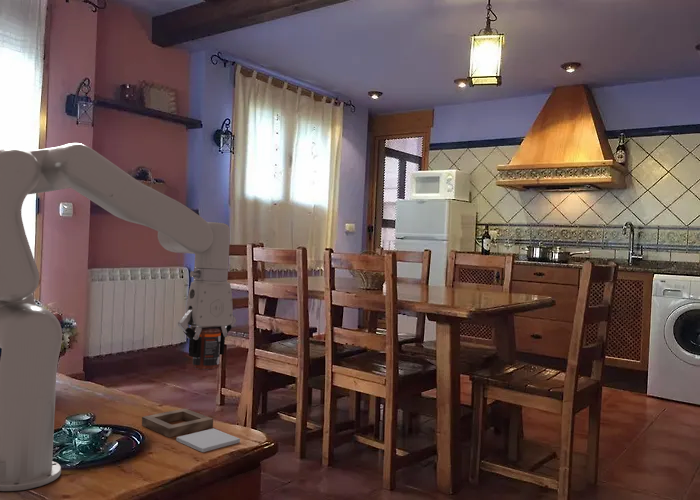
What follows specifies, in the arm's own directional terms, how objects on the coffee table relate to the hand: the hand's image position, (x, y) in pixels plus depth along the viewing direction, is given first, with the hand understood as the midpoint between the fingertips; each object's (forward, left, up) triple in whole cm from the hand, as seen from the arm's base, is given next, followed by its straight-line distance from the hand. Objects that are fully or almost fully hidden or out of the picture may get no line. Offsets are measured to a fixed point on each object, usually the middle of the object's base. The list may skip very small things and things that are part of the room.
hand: (206, 354), depth 133 cm
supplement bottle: (0, 0, -3) cm, 3 cm away
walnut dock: (+1, +12, -19) cm, 23 cm away
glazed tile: (0, -2, -19) cm, 19 cm away
